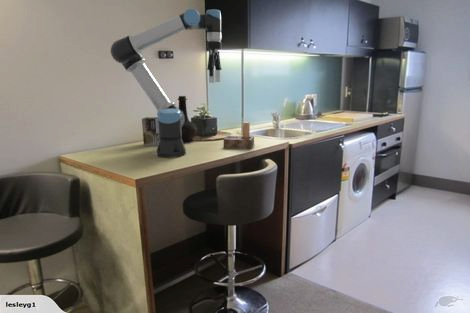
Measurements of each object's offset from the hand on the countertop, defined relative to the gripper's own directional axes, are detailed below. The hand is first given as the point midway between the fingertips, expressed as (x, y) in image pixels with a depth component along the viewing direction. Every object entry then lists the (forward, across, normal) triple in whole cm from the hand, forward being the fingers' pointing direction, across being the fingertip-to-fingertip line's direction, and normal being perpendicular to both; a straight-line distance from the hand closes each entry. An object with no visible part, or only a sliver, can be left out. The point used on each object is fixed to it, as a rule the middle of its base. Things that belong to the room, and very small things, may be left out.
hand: (214, 82), depth 187 cm
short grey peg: (+37, +8, -8) cm, 38 cm away
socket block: (+37, +8, -12) cm, 39 cm away
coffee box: (+37, +4, +40) cm, 55 cm away
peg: (+37, +8, -16) cm, 41 cm away
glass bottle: (+37, +19, +26) cm, 49 cm away
